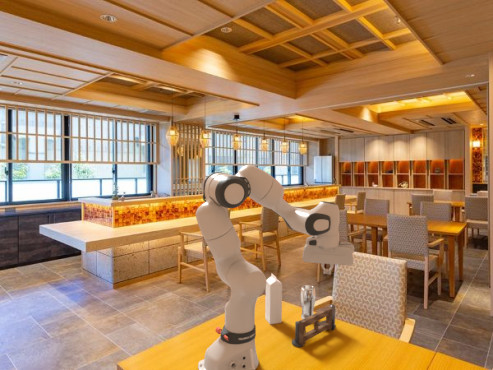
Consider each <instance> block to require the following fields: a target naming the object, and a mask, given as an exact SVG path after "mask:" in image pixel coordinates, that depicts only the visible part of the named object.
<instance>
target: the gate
mask: <svg viewBox="0 0 493 370" xmlns="http://www.w3.org/2000/svg"><path fill="white" fill-rule="evenodd" d="M324 318H325V320H326V323H324V324H322V325H320V326H318V322H319V321H320V320H322V319H324ZM298 321H299V344H301V345H306V341H308V340H310V339H311V338H314V337H316V336H317V335H319V334H322V333H323V332H325V331H331V329H332V308H330V306H329V307H325V308H324V309H322V310H319V311H318V312H316V313H313V315H311V316H309V317H307V318H305V319H300V320H298ZM312 324H313V329H311V330H309V331H308V332H307V330H306V327H308V326H311V325H312Z"/></svg>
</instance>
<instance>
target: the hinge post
mask: <svg viewBox="0 0 493 370" xmlns="http://www.w3.org/2000/svg"><path fill="white" fill-rule="evenodd" d="M329 307H330V308H332V329H331V330H330V331H332V332H333V331H335V329H336V326H337V325H336V305H335V304H330V305H329ZM324 323H326V319H325V320H322V321H318V326H320V325H322V324H324Z"/></svg>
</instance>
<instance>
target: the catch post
mask: <svg viewBox="0 0 493 370" xmlns="http://www.w3.org/2000/svg"><path fill="white" fill-rule="evenodd" d="M299 321H300V320H298V321H295V327H294V328H295V329H294V334H295V336H294V337H295V338H293V339H292V341H291V344H292V346H293V347H295V348H301V347H304V345H305V344H304V345H301V344H299Z"/></svg>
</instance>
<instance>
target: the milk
mask: <svg viewBox="0 0 493 370" xmlns="http://www.w3.org/2000/svg"><path fill="white" fill-rule="evenodd" d="M266 281H267V284H266V288H265V299H264V301H265V303H264V304H265V305H264V309H265V310H264V313H265V315H264V317H265V321H267V322H268V324H269V325H275V324H281V323H282V322H283V321H282V320H283V319H282V318H283V317H282V315H283V313H282V312H283V283H282V282H281V281H280V280H279V279H278V278H277V276H275V274H273V273H272V272H271V275H270V276H269V277H268V278H266Z"/></svg>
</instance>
